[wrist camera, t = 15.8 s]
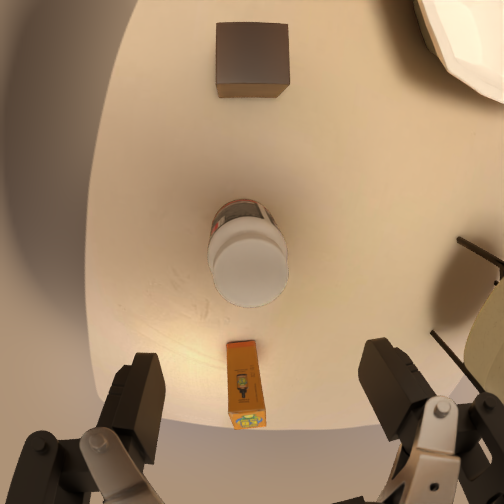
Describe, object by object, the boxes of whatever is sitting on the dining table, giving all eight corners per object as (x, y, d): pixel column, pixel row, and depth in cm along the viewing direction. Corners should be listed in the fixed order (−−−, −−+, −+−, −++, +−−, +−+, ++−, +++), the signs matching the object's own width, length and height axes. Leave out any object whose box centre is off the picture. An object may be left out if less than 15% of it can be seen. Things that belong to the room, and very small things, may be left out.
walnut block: (219, 98, 22) (215, 84, 17) (219, 47, 21) (216, 22, 15) (276, 97, 23) (290, 84, 17) (275, 48, 21) (288, 23, 15)
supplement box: (229, 363, 33) (231, 431, 23) (226, 342, 31) (226, 411, 22) (257, 361, 33) (267, 428, 23) (255, 339, 31) (265, 408, 22)
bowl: (511, 123, 24) (555, 129, 16) (384, 92, 23) (436, 80, 15) (483, -8, 16) (518, -19, 8) (350, -63, 15) (378, -98, 7)
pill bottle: (202, 243, 27) (189, 295, 18) (227, 187, 25) (226, 213, 16) (257, 266, 28) (270, 325, 19) (284, 214, 27) (313, 253, 17)
